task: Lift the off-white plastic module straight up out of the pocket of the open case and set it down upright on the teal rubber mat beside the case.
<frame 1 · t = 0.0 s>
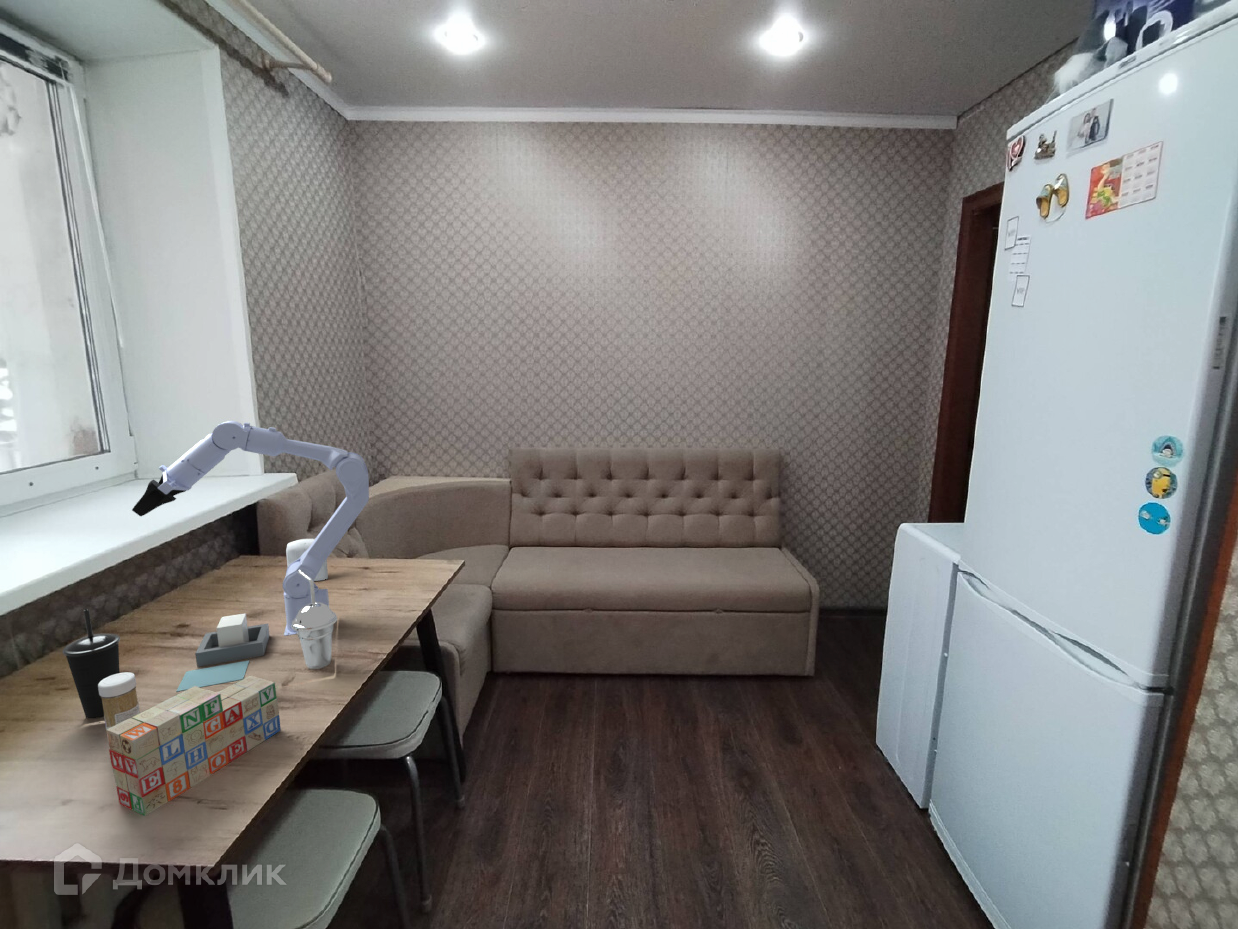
hand: (142, 508, 125), 32 cm above the table, tool tilted 50°, fingers open, 7 cm apart
cup with straw: (319, 666, 124), on the table
case: (235, 652, 130), on the table
drinking cup: (103, 714, 108), on the table
sprinkles bottle: (128, 755, 96), on the table
photo printer: (309, 581, 172), on the table
stack of blocks: (207, 766, 94), on the table
mat: (214, 677, 119), on the table
module: (235, 650, 130), resting on case
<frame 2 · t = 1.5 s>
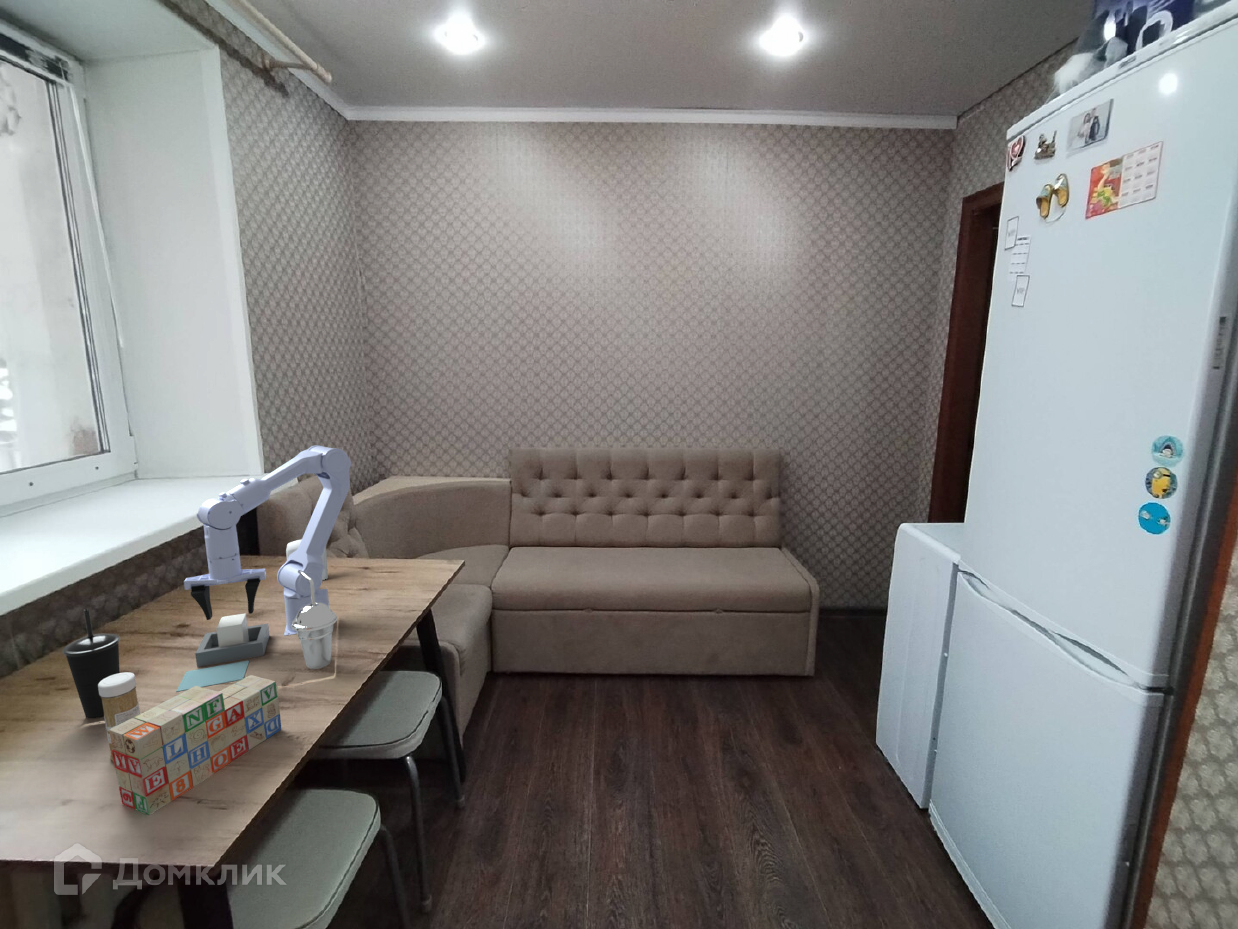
hand: (230, 615, 128), 9 cm above the table, tool pointing down, fingers open, 7 cm apart
nothing on the table moved.
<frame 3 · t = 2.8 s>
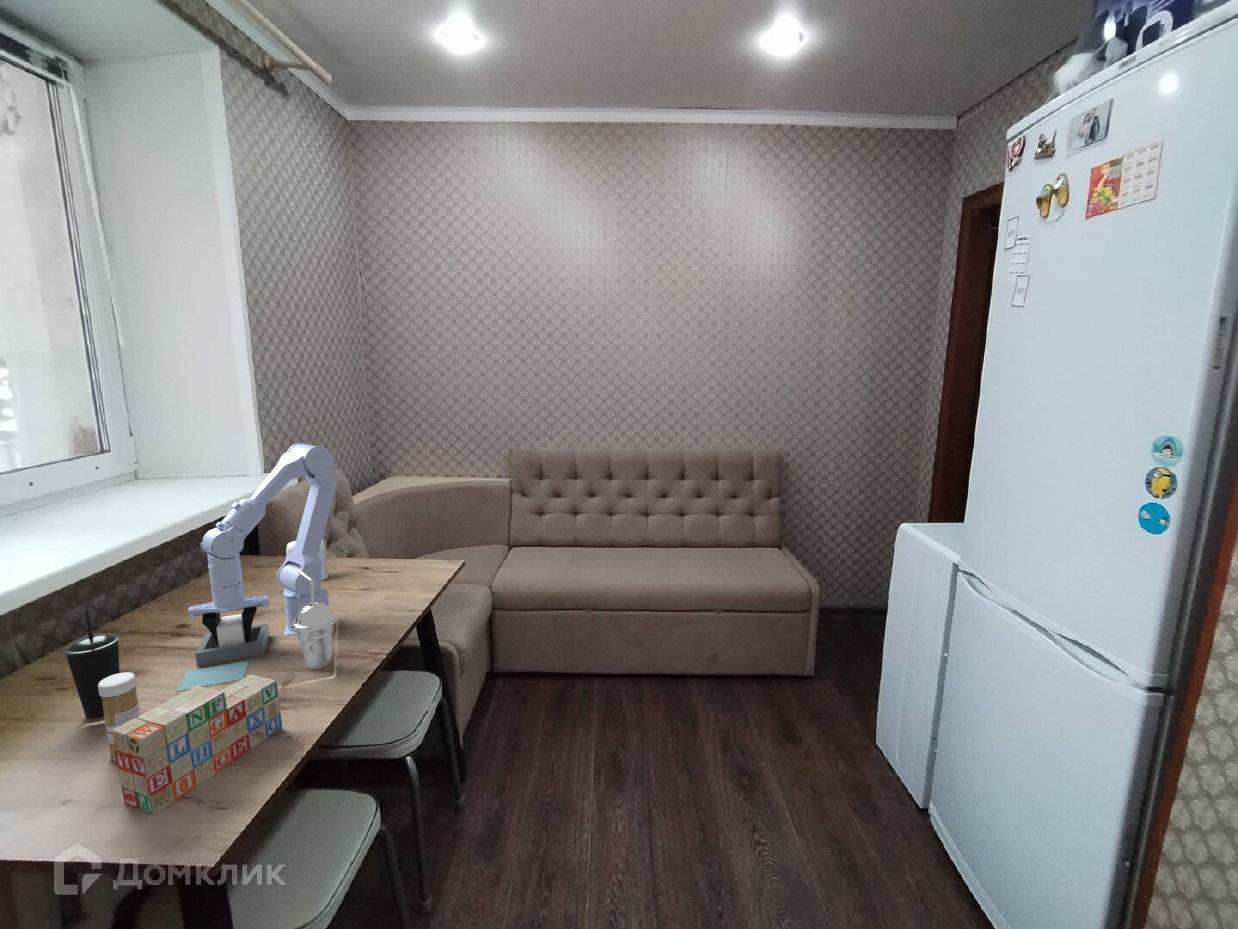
hand: (234, 642, 129), 2 cm above the table, tool pointing down, fingers closed on module, 4 cm apart
module: (235, 650, 130), resting on case, touching gripper
everything else where it was.
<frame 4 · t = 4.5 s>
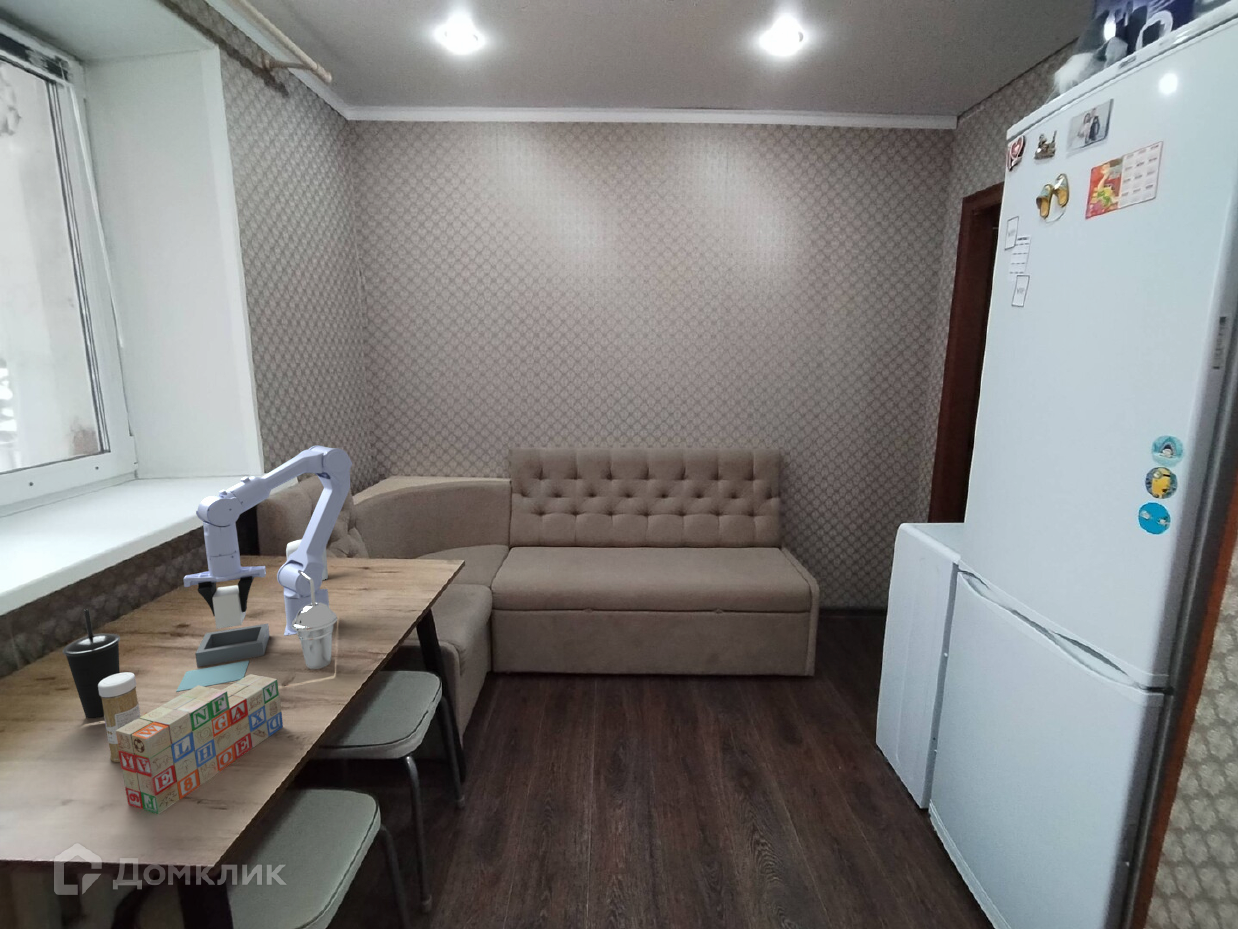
hand: (230, 612, 128), 9 cm above the table, tool pointing down, fingers closed on module, 4 cm apart
module: (231, 621, 128), point 7 cm above the table, touching gripper
everything else where it was.
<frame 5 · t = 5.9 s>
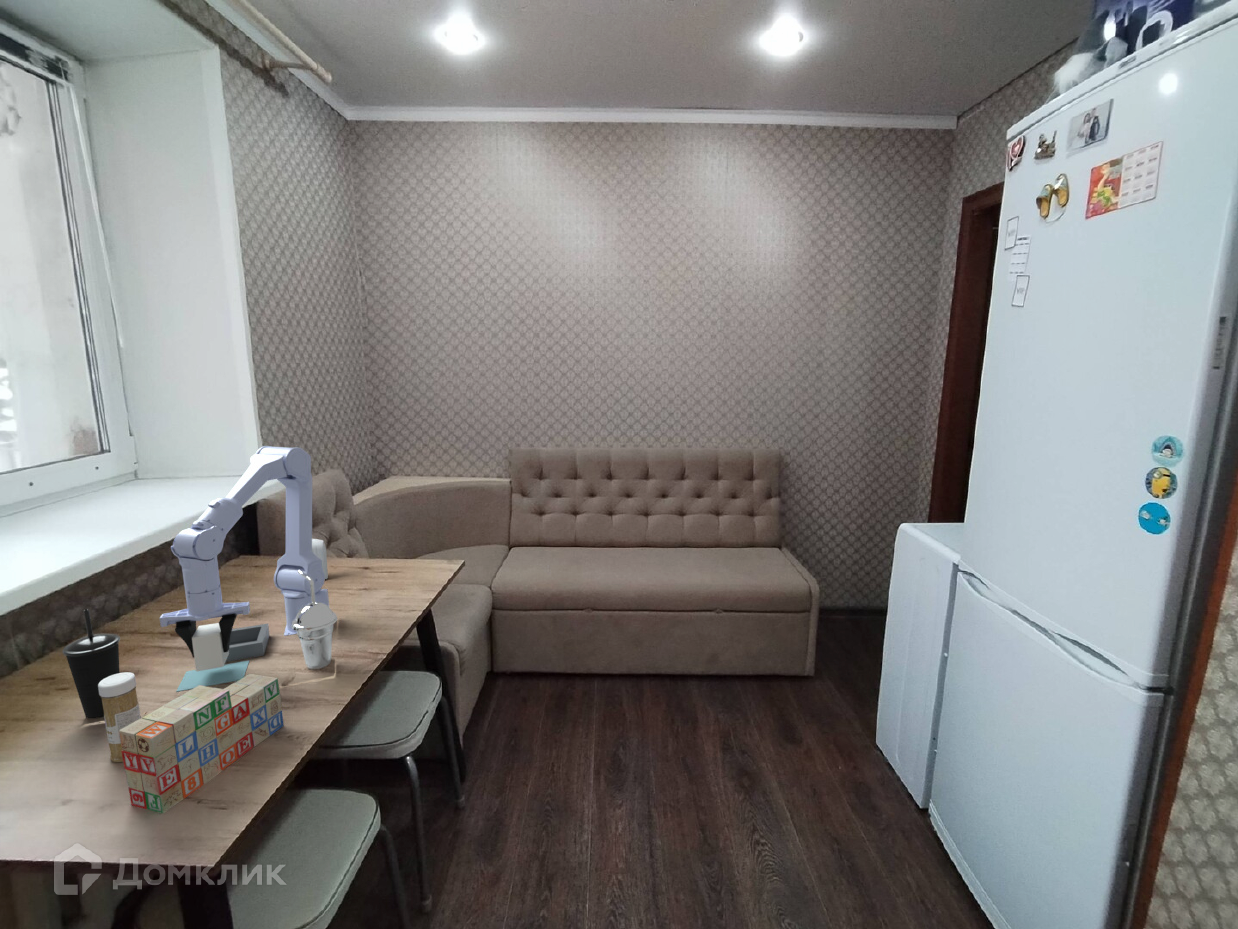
hand: (211, 652, 118), 5 cm above the table, tool pointing down, fingers closed on module, 4 cm apart
module: (213, 662, 119), point 3 cm above the table, touching gripper
when the fingers open (4 cm above the table, at t = 6.6 s): module drops 1 cm, resting on mat.
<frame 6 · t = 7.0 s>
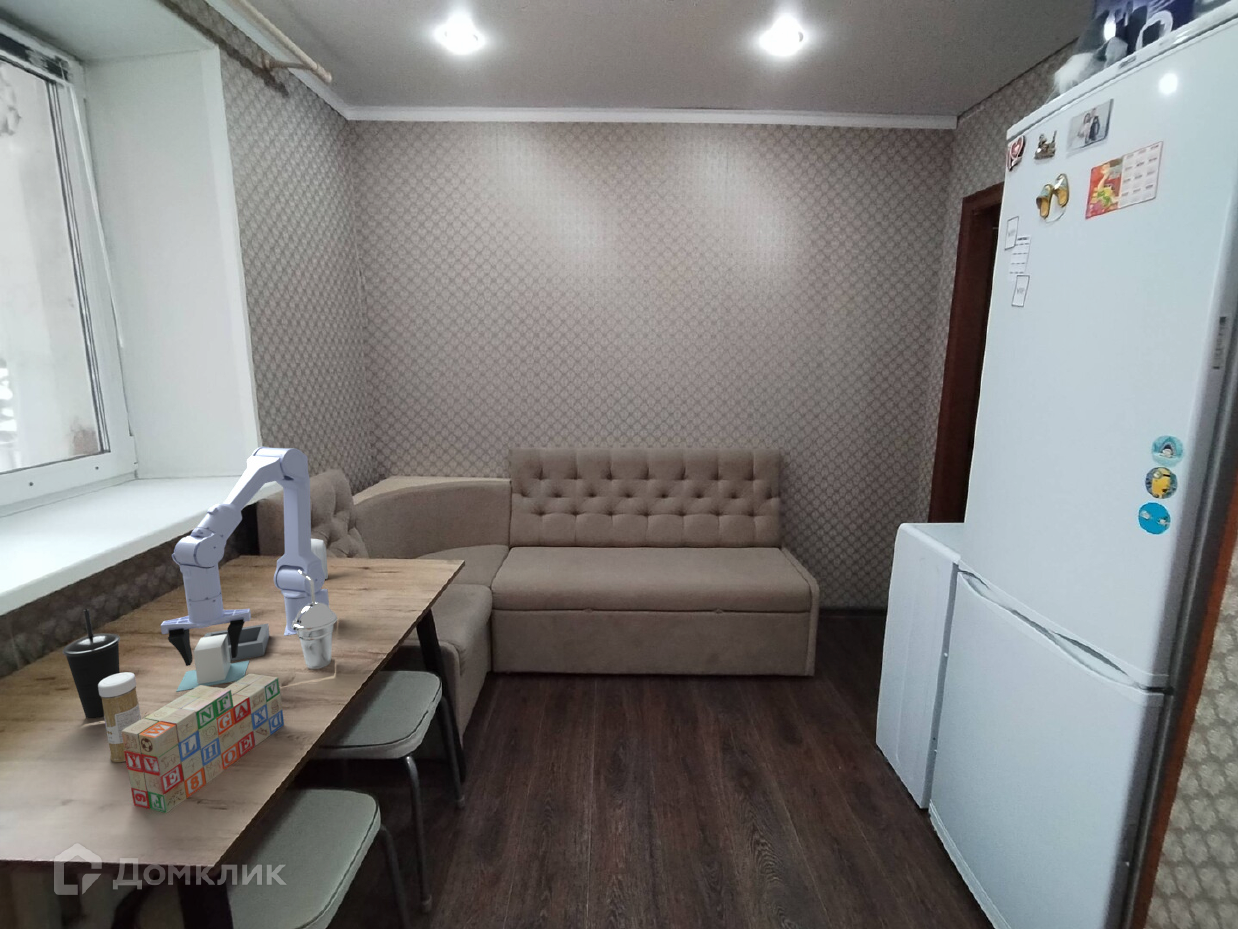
hand: (212, 659, 119), 4 cm above the table, tool pointing down, fingers open, 7 cm apart
module: (214, 674, 119), point 1 cm above the table, touching mat
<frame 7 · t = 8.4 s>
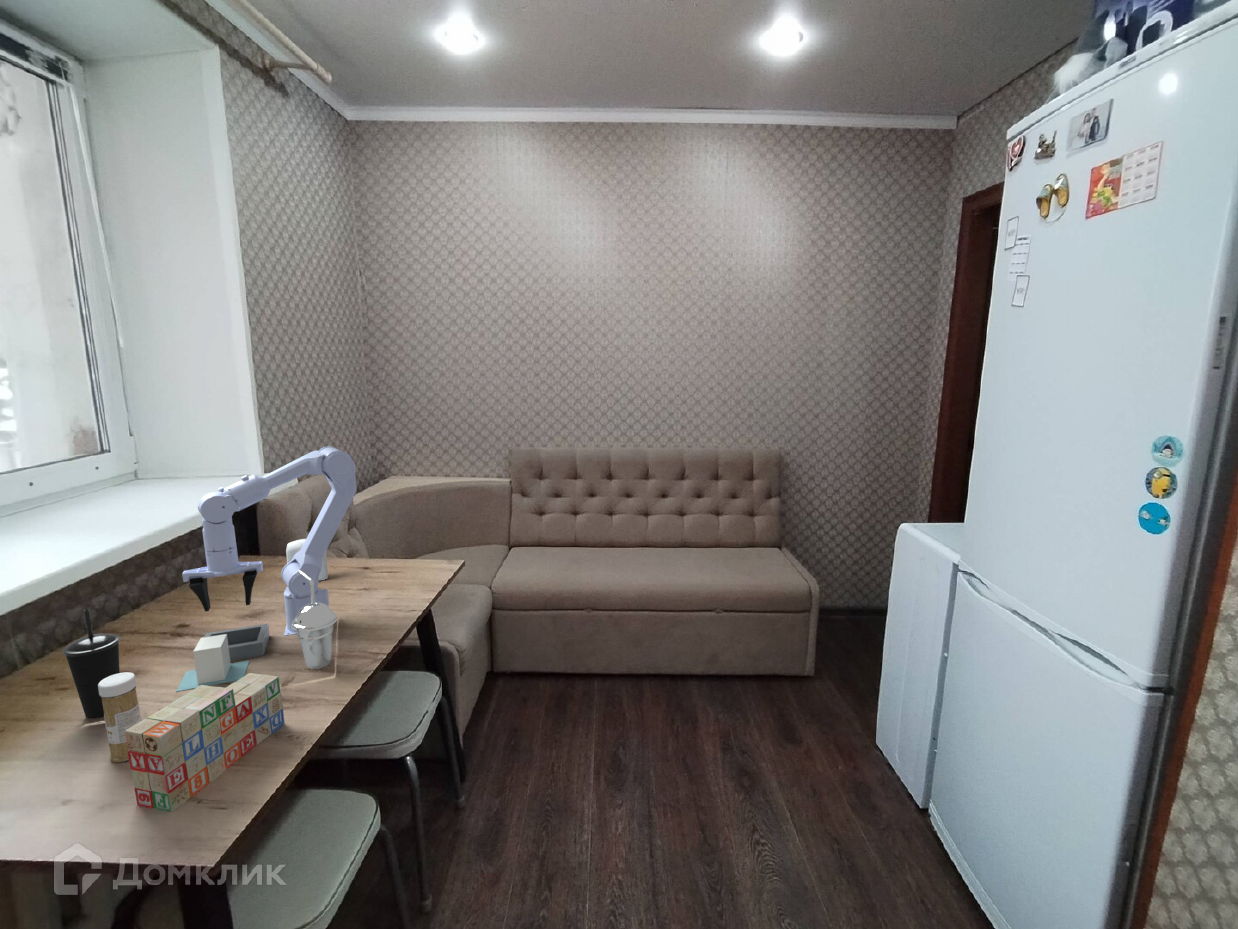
hand: (228, 606, 131), 9 cm above the table, tool pointing down, fingers open, 7 cm apart
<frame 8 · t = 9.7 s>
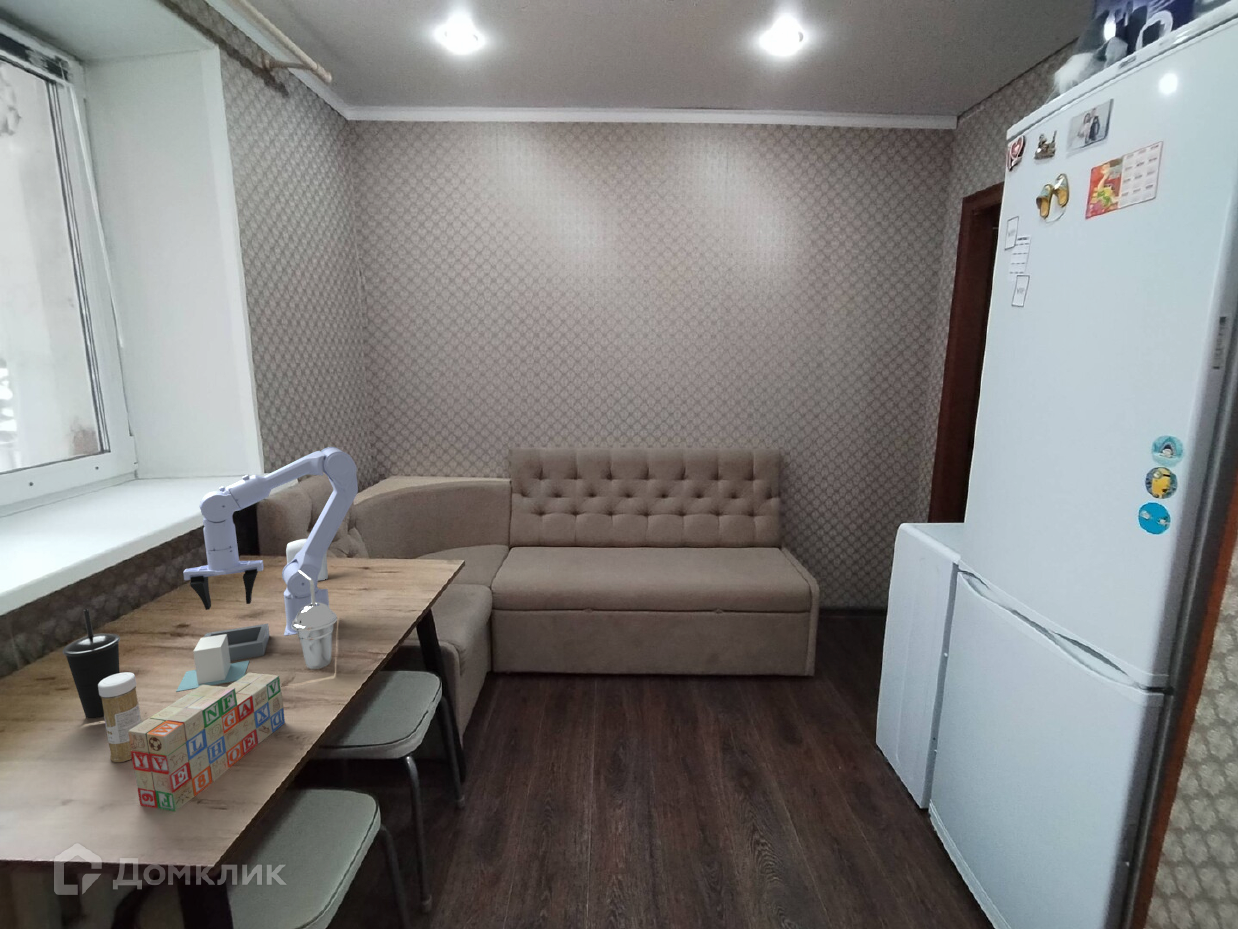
hand: (228, 605, 132), 9 cm above the table, tool pointing down, fingers open, 7 cm apart
at the end: module 0.2 cm off-centre on the mat, point 0.6 cm above the mat's base; module tilted 0°; the gripper is holding nothing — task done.
